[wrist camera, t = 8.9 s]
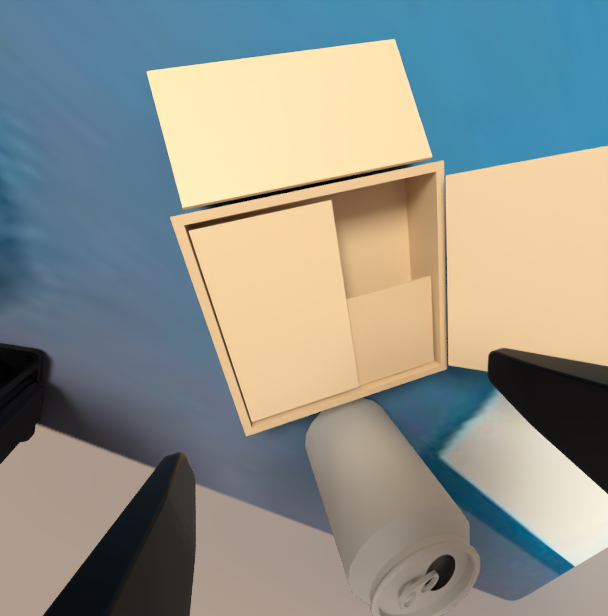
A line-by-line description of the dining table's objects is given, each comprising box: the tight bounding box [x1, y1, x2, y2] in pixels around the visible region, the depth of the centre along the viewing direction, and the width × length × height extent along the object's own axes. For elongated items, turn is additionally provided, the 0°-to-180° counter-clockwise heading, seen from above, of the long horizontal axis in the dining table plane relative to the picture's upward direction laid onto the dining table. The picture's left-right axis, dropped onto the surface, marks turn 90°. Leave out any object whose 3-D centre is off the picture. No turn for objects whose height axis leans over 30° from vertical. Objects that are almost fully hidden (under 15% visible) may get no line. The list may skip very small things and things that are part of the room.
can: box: [305, 398, 480, 616], centre depth 20 cm, size 8×8×12 cm
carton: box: [147, 39, 447, 436], centre depth 18 cm, size 15×21×4 cm
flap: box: [446, 146, 608, 371], centre depth 15 cm, size 1×12×11 cm
